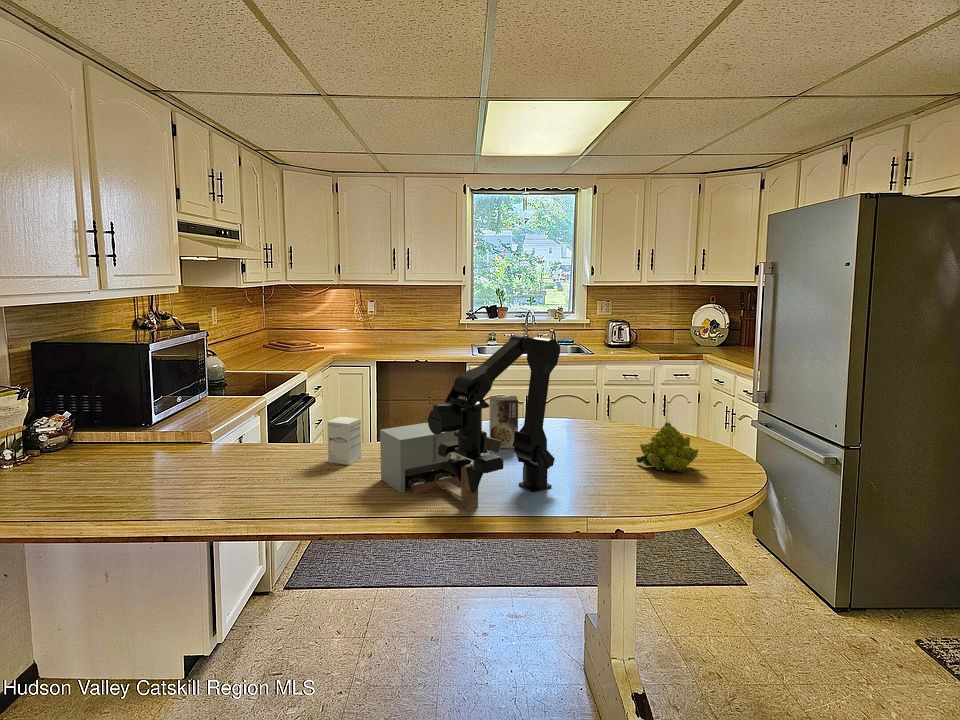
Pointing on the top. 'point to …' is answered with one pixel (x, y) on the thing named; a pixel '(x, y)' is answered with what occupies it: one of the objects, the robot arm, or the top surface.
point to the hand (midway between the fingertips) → (469, 490)
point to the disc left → (415, 481)
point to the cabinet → (411, 453)
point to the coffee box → (503, 419)
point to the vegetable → (668, 450)
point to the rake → (452, 488)
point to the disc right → (442, 476)
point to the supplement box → (344, 440)
